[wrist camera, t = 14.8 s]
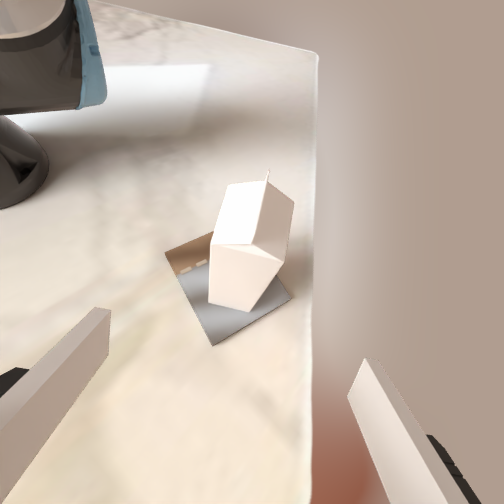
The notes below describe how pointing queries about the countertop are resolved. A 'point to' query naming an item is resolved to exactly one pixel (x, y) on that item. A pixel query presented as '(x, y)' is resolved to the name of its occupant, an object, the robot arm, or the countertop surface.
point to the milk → (248, 243)
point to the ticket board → (197, 291)
